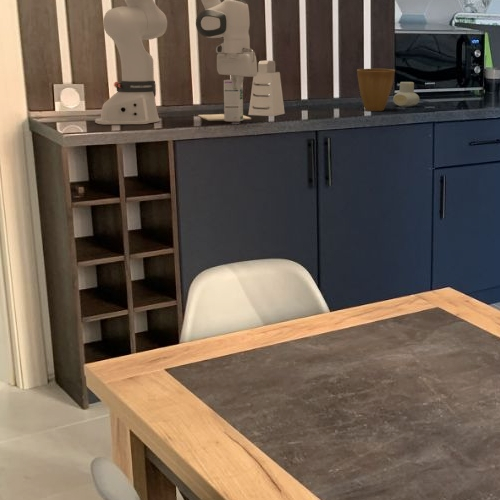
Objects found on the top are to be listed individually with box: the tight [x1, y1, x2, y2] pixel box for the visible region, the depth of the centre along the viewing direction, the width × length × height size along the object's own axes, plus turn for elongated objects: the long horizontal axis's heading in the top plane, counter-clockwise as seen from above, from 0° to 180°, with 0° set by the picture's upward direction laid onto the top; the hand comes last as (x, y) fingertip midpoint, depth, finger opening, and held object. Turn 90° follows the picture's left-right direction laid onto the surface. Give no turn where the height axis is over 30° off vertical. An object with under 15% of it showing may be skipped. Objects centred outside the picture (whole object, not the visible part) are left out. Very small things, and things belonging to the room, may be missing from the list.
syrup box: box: [223, 78, 244, 123], centre depth 293 cm, size 6×6×14 cm
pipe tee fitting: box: [392, 81, 420, 108], centre depth 349 cm, size 11×8×10 cm
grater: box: [247, 60, 286, 117], centre depth 317 cm, size 10×10×20 cm
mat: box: [197, 113, 252, 122], centre depth 306 cm, size 16×16×1 cm
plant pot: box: [356, 68, 396, 112], centre depth 332 cm, size 15×15×16 cm
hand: (237, 89), depth 287 cm, fingers closed
